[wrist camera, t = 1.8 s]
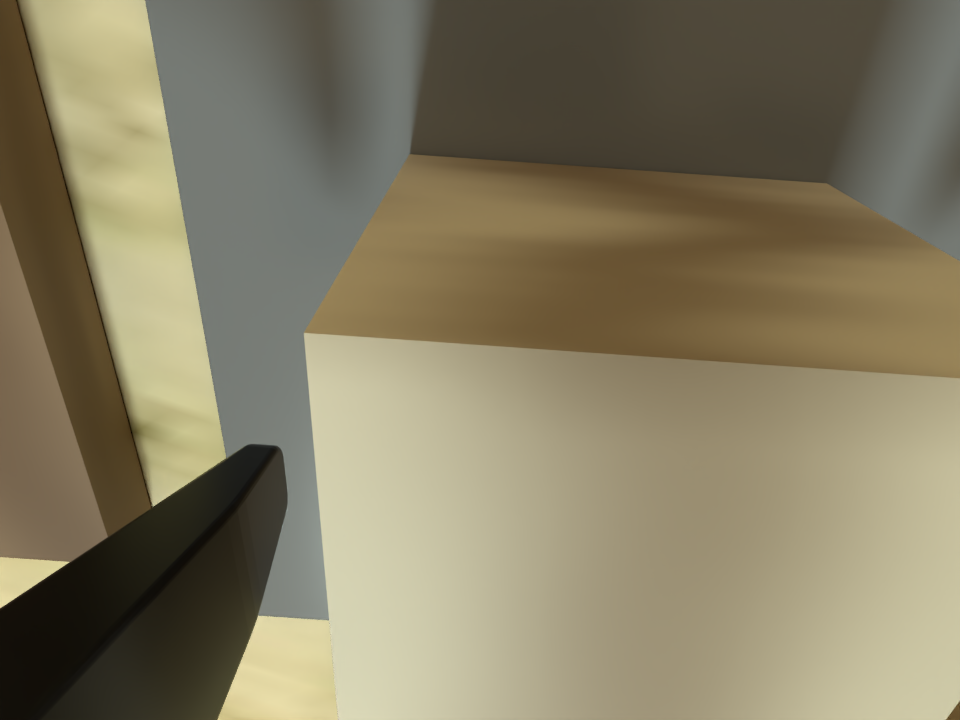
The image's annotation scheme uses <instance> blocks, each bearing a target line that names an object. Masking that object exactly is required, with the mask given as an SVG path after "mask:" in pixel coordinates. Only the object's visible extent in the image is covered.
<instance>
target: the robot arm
mask: <svg viewBox="0 0 960 720" xmlns="http://www.w3.org/2000/svg"><path fill="white" fill-rule="evenodd" d="M287 506H288V488H287V480H286V472H285V464H284V456H283V452H282V450H281V448H279V447H278V446H276V445H264V444H248V445H246V446H244V447H242V448H241V449H239V450H238V451H236V452H235V453H233V454H232V455H230V456H229V457H227V458H226V459H224V460H223V461H221V462H220V463H218V464H217V465H215V466H214V467H212V468H211V469H209V470H208V471H206V472H205V473H203V474H202V475H200V476H199V477H197V478H196V479H194V480H193V481H191V482H190V483H188V484H187V485H185V486H184V487H182V488H181V489H179V490H178V491H176V492H175V493H173V494H172V495H170V496H169V497H167V498H166V499H164V500H163V501H161V502H160V503H158V504H157V505H155V506H154V507H152V508H151V509H149V510H148V511H146V512H145V513H143V514H142V515H140V516H139V517H137V518H136V519H134V520H133V521H131V522H130V523H128V524H127V525H125V526H124V527H122V528H121V529H119V530H118V531H116V532H115V533H113V534H112V535H110V536H109V537H107V538H106V539H104V540H103V541H101V542H100V543H98V544H97V545H95V546H94V547H92V548H91V549H89V550H88V551H86V552H84V553H83V554H81V555H80V556H78V557H77V558H75V559H74V560H72V561H71V562H69V563H68V564H66V565H65V566H63V567H62V568H60V569H59V570H57V571H56V572H54V573H53V574H51V575H50V576H48V577H47V578H45V579H44V580H42V581H41V582H39V583H38V584H36V585H35V586H33V587H32V588H30V589H29V590H27V591H26V592H24V593H23V594H21V595H20V596H18V597H17V598H15V599H14V600H12V601H11V602H9V603H8V604H6V605H5V606H3V607H2V608H0V720H217V719H218V717H219V714H220V712H221V709H222V707H223V704H224V702H225V699H226V697H227V694H228V692H229V689H230V687H231V684H232V682H233V679H234V677H235V674H236V672H237V669H238V667H239V664H240V662H241V659H242V657H243V654H244V652H245V649H246V647H247V644H248V642H249V639H250V636H251V634H252V631H253V628H254V626H255V623H256V620H257V617H258V614H259V610H260V607H261V603H262V600H263V596H264V593H265V589H266V585H267V582H268V578H269V574H270V571H271V567H272V563H273V560H274V556H275V552H276V549H277V545H278V541H279V538H280V534H281V530H282V527H283V523H284V519H285V516H286V512H287Z"/></svg>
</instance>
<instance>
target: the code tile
mask: <svg viewBox="0 0 960 720" xmlns="http://www.w3.org/2000/svg"><path fill="white" fill-rule="evenodd" d="M145 1H146V7H147V13H148V18H149V24H150V30H151V35H152V41H153V46H154V52H155V58H156V63H157V69H158V75H159V80H160V86H161V92H162V97H163V103H164V109H165V114H166V120H167V125H168V131H169V137H170V142H171V148H172V154H173V159H174V165H175V171H176V176H177V182H178V187H179V193H180V199H181V204H182V210H183V216H184V221H185V227H186V233H187V238H188V244H189V249H190V255H191V261H192V266H193V272H194V278H195V283H196V289H197V295H198V300H199V306H200V311H201V317H202V323H203V328H204V334H205V340H206V345H207V351H208V357H209V362H210V368H211V374H212V379H213V385H214V390H215V396H216V402H217V407H218V413H219V419H220V424H221V430H222V436H223V441H224V447H225V452H226V458H227V457H229V456H230V455H232V454H233V453H235V452H236V451H238V450H239V449H241V448H242V447H244V446H246V445H248V444H264V445H276V446H278V447H279V448H281V450H282V452H283V456H284V464H285V472H286V480H287V488H288V506H287V512H286V516H285V519H284V523H283V527H282V530H281V534H280V538H279V541H278V545H277V549H276V552H275V556H274V560H273V563H272V567H271V571H270V574H269V578H268V582H267V585H266V589H265V593H264V596H263V600H262V603H261V607H260V610H259V614H258V615H259V616H274V617H288V618H303V619H318V620H329V613H328V601H327V590H326V579H325V568H324V556H323V545H322V534H321V522H320V511H319V500H318V489H317V477H316V466H315V455H314V443H313V432H312V421H311V410H310V398H309V387H308V376H307V364H306V353H305V342H304V332H305V330H306V328H307V326H308V325H309V323H310V321H311V320H312V318H313V316H314V315H315V313H316V311H317V310H318V308H319V306H320V305H321V303H322V301H323V299H324V298H325V296H326V294H327V293H328V291H329V289H330V288H331V286H332V284H333V283H334V281H335V279H336V277H337V276H338V274H339V272H340V271H341V269H342V267H343V266H344V264H345V262H346V261H347V259H348V257H349V256H350V254H351V252H352V250H353V249H354V247H355V245H356V244H357V242H358V240H359V239H360V237H361V235H362V234H363V232H364V230H365V229H366V227H367V225H368V223H369V222H370V220H371V218H372V217H373V215H374V213H375V212H376V210H377V208H378V207H379V205H380V203H381V202H382V200H383V198H384V196H385V195H386V193H387V191H388V190H389V188H390V186H391V185H392V183H393V181H394V180H395V178H396V176H397V175H398V173H399V171H400V169H401V168H402V166H403V164H404V163H405V161H406V159H407V158H408V156H409V154H414V155H428V156H442V157H457V158H471V159H485V160H499V161H514V162H528V163H542V164H557V165H571V166H585V167H599V168H614V169H628V170H642V171H657V172H671V173H685V174H700V175H714V176H728V177H742V178H757V179H771V180H785V181H800V182H814V183H827V184H829V185H830V186H832V187H834V188H835V189H837V190H839V191H841V192H842V193H844V194H846V195H847V196H849V197H851V198H852V199H854V200H856V201H858V202H859V203H861V204H863V205H864V206H866V207H868V208H870V209H871V210H873V211H875V212H876V213H878V214H880V215H882V216H883V217H885V218H887V219H888V220H890V221H892V222H894V223H895V224H897V225H899V226H900V227H902V228H904V229H905V230H907V231H909V232H911V233H912V234H914V235H916V236H917V237H919V238H921V239H923V240H924V241H926V242H928V243H929V244H931V245H933V246H935V247H936V248H938V249H940V250H941V251H943V252H945V253H946V254H948V255H950V256H952V257H953V258H955V259H957V260H958V261H960V0H145Z"/></svg>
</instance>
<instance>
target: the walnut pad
mask: <svg viewBox="0 0 960 720" xmlns="http://www.w3.org/2000/svg"><path fill="white" fill-rule="evenodd" d="M149 509H151V506H150V502H149V498H148V494H147V491H146V487H145V483H144V479H143V476H142V472H141V468H140V464H139V461H138V457H137V453H136V449H135V446H134V442H133V438H132V434H131V431H130V427H129V423H128V419H127V416H126V412H125V408H124V404H123V401H122V397H121V393H120V389H119V386H118V382H117V378H116V374H115V371H114V367H113V363H112V359H111V356H110V352H109V348H108V344H107V341H106V337H105V333H104V329H103V326H102V322H101V318H100V314H99V311H98V307H97V303H96V299H95V296H94V292H93V288H92V284H91V281H90V277H89V273H88V269H87V266H86V262H85V258H84V254H83V251H82V247H81V243H80V239H79V236H78V232H77V228H76V224H75V221H74V217H73V213H72V209H71V206H70V202H69V198H68V194H67V191H66V187H65V183H64V179H63V176H62V172H61V168H60V164H59V161H58V157H57V153H56V149H55V146H54V142H53V138H52V134H51V130H50V127H49V123H48V119H47V115H46V112H45V108H44V104H43V100H42V97H41V93H40V89H39V85H38V82H37V78H36V74H35V70H34V67H33V63H32V59H31V55H30V52H29V48H28V44H27V40H26V37H25V33H24V29H23V25H22V22H21V18H20V14H19V10H18V7H17V3H16V0H0V557H9V558H23V559H38V560H52V561H67V562H71V561H72V560H74V559H75V558H77V557H78V556H80V555H81V554H83V553H84V552H86V551H88V550H89V549H91V548H92V547H94V546H95V545H97V544H98V543H100V542H101V541H103V540H104V539H106V538H107V537H109V536H110V535H112V534H113V533H115V532H116V531H118V530H119V529H121V528H122V527H124V526H125V525H127V524H128V523H130V522H131V521H133V520H134V519H136V518H137V517H139V516H140V515H142V514H143V513H145V512H146V511H148V510H149Z"/></svg>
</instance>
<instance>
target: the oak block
mask: <svg viewBox="0 0 960 720" xmlns="http://www.w3.org/2000/svg"><path fill="white" fill-rule="evenodd" d="M304 342H305V353H306V364H307V376H308V387H309V398H310V410H311V421H312V432H313V443H314V455H315V466H316V477H317V489H318V500H319V511H320V522H321V534H322V545H323V556H324V568H325V579H326V590H327V601H328V613H329V624H330V635H331V647H332V658H333V669H334V680H335V692H336V703H337V714H338V720H946V719H947V717H948V716H949V715H950V713H951V712H952V711H953V709H954V708H955V707H956V705H957V704H958V703H959V701H960V261H958V260H957V259H955V258H953V257H952V256H950V255H948V254H946V253H945V252H943V251H941V250H940V249H938V248H936V247H935V246H933V245H931V244H929V243H928V242H926V241H924V240H923V239H921V238H919V237H917V236H916V235H914V234H912V233H911V232H909V231H907V230H905V229H904V228H902V227H900V226H899V225H897V224H895V223H894V222H892V221H890V220H888V219H887V218H885V217H883V216H882V215H880V214H878V213H876V212H875V211H873V210H871V209H870V208H868V207H866V206H864V205H863V204H861V203H859V202H858V201H856V200H854V199H852V198H851V197H849V196H847V195H846V194H844V193H842V192H841V191H839V190H837V189H835V188H834V187H832V186H830V185H829V184H827V183H814V182H800V181H785V180H771V179H757V178H742V177H728V176H714V175H700V174H685V173H671V172H657V171H642V170H628V169H614V168H599V167H585V166H571V165H557V164H542V163H528V162H514V161H499V160H485V159H471V158H457V157H442V156H428V155H414V154H409V156H408V158H407V159H406V161H405V163H404V164H403V166H402V168H401V169H400V171H399V173H398V175H397V176H396V178H395V180H394V181H393V183H392V185H391V186H390V188H389V190H388V191H387V193H386V195H385V196H384V198H383V200H382V202H381V203H380V205H379V207H378V208H377V210H376V212H375V213H374V215H373V217H372V218H371V220H370V222H369V223H368V225H367V227H366V229H365V230H364V232H363V234H362V235H361V237H360V239H359V240H358V242H357V244H356V245H355V247H354V249H353V250H352V252H351V254H350V256H349V257H348V259H347V261H346V262H345V264H344V266H343V267H342V269H341V271H340V272H339V274H338V276H337V277H336V279H335V281H334V283H333V284H332V286H331V288H330V289H329V291H328V293H327V294H326V296H325V298H324V299H323V301H322V303H321V305H320V306H319V308H318V310H317V311H316V313H315V315H314V316H313V318H312V320H311V321H310V323H309V325H308V326H307V328H306V330H305V332H304Z"/></svg>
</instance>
